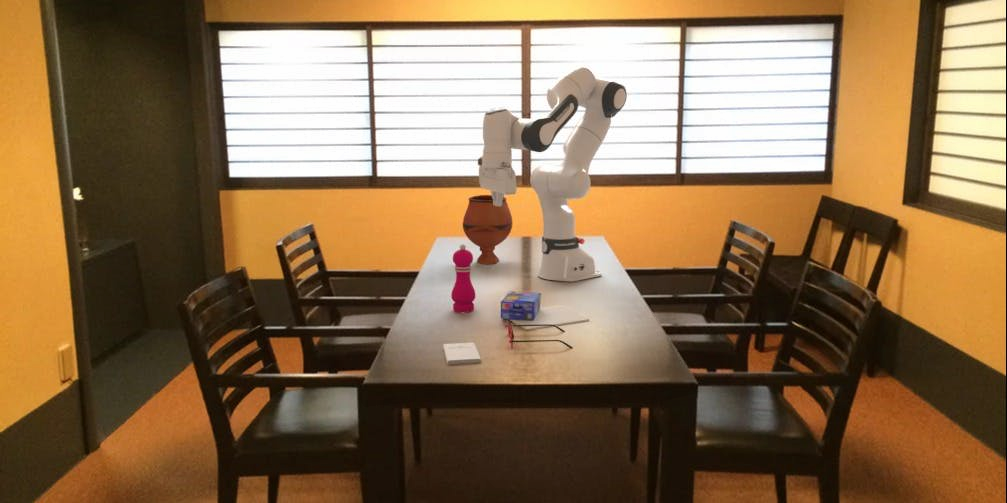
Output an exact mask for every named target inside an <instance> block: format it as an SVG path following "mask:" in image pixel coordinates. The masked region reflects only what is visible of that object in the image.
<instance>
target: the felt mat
mask: <svg viewBox="0 0 1007 503" xmlns="http://www.w3.org/2000/svg"><path fill="white" fill-rule="evenodd" d="M509 320H510V322H513V323H514V324H515V325H544V324H552V325H555V326H557V327H559V326H562V325H570V324H577V323H584V322H589V321H590V318H588V317H586V316H584V315H582V314H580V313H578V312H576V311H574V310H572V309H570V308H568V307H566V306H564V305H563V304H560V305H553V306H545V307H540V310H539V312H538V313H537V315H536V317H535V319H534V321H530V320H516V319H513V320H512V319H508V321H509ZM551 327H552V326H520V328H522V329H524V330H526V331H531V330H537V329H543V328H544V329H545V328H551Z"/></svg>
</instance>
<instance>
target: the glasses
mask: <svg viewBox="0 0 1007 503" xmlns="http://www.w3.org/2000/svg"><path fill="white" fill-rule="evenodd" d="M511 322H512V321H511V320H509V319H508V322H507V324H504V327H505V328H507V334H508V335H507V336H508V338H509V340H508V344H510V347H511V349H513V346H514V344H513V343H535V342H536V343H538V342H539V343H542V342H559V343H562V344H563V345H564V346H566V347H568V348H569V349H574V347H573V346H571V345H570V344H568V343H566V342H565V341H563V340H559V339H542V340H539V339H538V340H537V339H534V340H531V339H530V340H515V334H514V330H513V328H514V327H521V326H551V327H554V328H556V329H558V331H560V332H562V333H566V331H565V330H564V329H563V328H561V327H559V326H555V325H552V324H544V325H517V324H512V323H511Z"/></svg>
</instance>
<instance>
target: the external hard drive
mask: <svg viewBox="0 0 1007 503" xmlns="http://www.w3.org/2000/svg"><path fill="white" fill-rule="evenodd" d="M442 349H443V352H444V358H445V360H446V364H447V365H459V364H458V363H464V364H475V363H474V362H480V363H482V359H481V356H480V353H479V351H478V348H477V345H476V343H475V342H456V343H443V344H442Z"/></svg>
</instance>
